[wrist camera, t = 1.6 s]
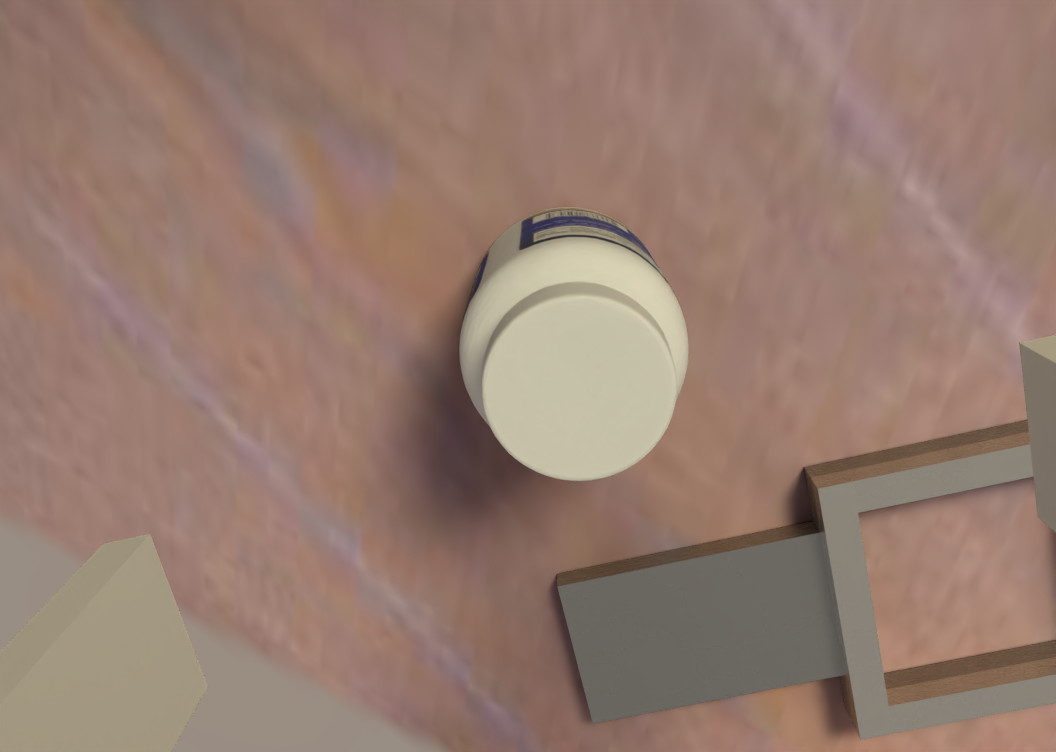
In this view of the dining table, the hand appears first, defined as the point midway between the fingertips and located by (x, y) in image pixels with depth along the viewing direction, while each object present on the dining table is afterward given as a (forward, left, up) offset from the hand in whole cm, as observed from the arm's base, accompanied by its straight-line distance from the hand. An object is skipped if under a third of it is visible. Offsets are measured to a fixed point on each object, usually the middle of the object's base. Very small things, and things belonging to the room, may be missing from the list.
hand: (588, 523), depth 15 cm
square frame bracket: (+11, +10, -14) cm, 21 cm away
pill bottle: (0, 0, -15) cm, 15 cm away
